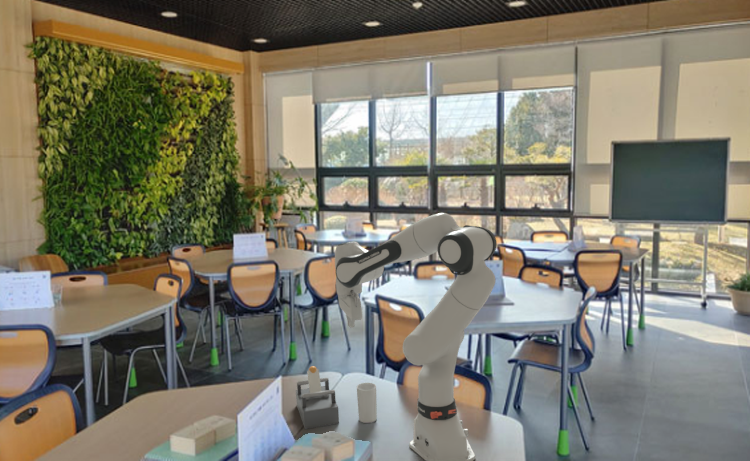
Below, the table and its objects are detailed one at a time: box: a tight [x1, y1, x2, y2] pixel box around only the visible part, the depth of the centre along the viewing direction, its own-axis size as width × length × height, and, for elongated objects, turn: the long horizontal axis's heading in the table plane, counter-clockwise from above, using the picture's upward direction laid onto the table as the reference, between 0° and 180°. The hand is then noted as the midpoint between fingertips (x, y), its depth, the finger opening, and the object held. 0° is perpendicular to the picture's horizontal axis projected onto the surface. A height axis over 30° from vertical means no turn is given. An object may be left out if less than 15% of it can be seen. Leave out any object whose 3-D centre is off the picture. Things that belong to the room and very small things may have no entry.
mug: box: [356, 382, 378, 424], centre depth 199 cm, size 10×7×12 cm, turn 169°
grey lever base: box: [295, 377, 340, 430], centre depth 203 cm, size 20×12×11 cm, turn 16°
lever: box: [306, 365, 322, 398], centre depth 205 cm, size 3×4×11 cm
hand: (351, 326), depth 198 cm, fingers closed
